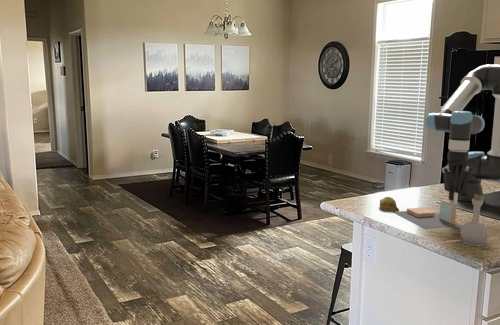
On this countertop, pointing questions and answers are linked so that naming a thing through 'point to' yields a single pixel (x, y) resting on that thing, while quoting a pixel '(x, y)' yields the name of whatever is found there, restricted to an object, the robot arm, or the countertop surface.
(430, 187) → the countertop surface
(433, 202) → the countertop surface
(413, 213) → the tile
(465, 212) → the countertop surface
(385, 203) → the seashell
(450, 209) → the tile
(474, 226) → the potion bottle
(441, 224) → the mat
